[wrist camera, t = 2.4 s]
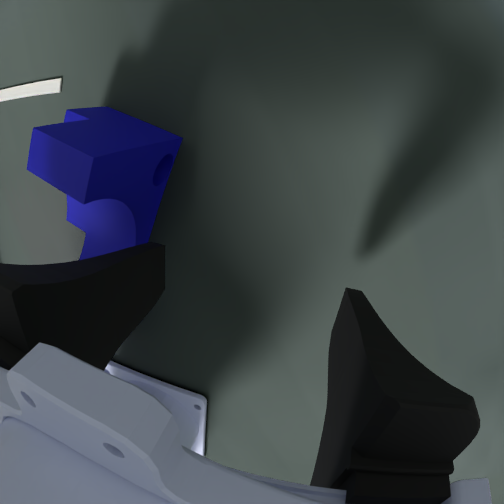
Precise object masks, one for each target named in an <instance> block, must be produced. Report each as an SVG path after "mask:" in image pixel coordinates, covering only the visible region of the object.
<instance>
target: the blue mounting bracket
mask: <svg viewBox="0 0 504 504" xmlns="http://www.w3.org/2000/svg"><path fill="white" fill-rule="evenodd" d="M182 139H183V138H182V137H179V136H177V135H175V134H172V133H170V132H168V131H166V130H163V129H161V128H158V127H156V126H154V125H151V124H149V123H147V122H144V121H142V120H139V119H137V118H134V117H132V116H129V115H127V114H124V113H122V112H119V111H117V110H114V109H112V108H109V107H92V108H79V109H68V110H67V111H66V115H65V119H64V123H59V124H52V125H46V126H40V127H34V128H33V132H32V138H31V144H30V150H29V157H28V164H27V170H29V171H30V172H32V173H33V174H35V175H36V176H38V177H40V178H41V179H43V180H44V181H46V182H48V183H49V184H51V185H52V186H54V187H56V188H57V189H59V190H61V191H62V192H64V193H65V194H67V221H69V222H70V223H72V224H73V225H75V226H77V227H78V228H80V229H81V230H83V231H84V232H86V237H85V241H84V246H83V249H82V253H81V256H80V259H79V260H83V259H88V258H92V257H96V256H99V255H103V254H107V253H111V252H115V251H118V250H122V249H125V248H129V247H132V246H136V245H140V244H144V243H148V241H149V238H150V234H151V231H152V228H153V224H154V221H155V218H156V215H157V211H158V208H159V205H160V202H161V199H162V196H163V193H164V190H165V187H166V184H167V181H168V178H169V175H170V172H171V169H172V166H173V164H174V161H175V158H176V155H177V153H178V150H179V147H180V144H181V142H182Z"/></svg>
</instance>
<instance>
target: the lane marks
mask: <svg viewBox="0 0 504 504" xmlns="http://www.w3.org/2000/svg"><path fill="white" fill-rule="evenodd" d="M61 84H62V78H58V79H52V80H46V81H41V82H35V83H30V84H25V85H20V86H16V87H11V88H7V89H3V90H0V101H5V100H11V99H16V98H22V97H29V96H35V95H42V94H50V93H58V92H61Z"/></svg>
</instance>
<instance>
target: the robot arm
mask: <svg viewBox="0 0 504 504" xmlns="http://www.w3.org/2000/svg"><path fill="white" fill-rule="evenodd" d="M164 289H165V245H161V244H157V243H153V242H151V243H144V244H140V245H136V246H132V247H129V248H125V249H122V250H118V251H115V252H111V253H107V254H103V255H99V256H96V257H92V258H88V259H83V260H78V261H72V262H65V263H56V264H45V265H14V264H2V263H0V504H492V500H491V493H490V487H489V481H488V478H478V479H466V480H459V481H456V482H453V483H451V484H450V481H449V475H451V474H452V473H453V471H454V465H453V460H454V459H455V458H456V457H457V456H458V455H459V454H460V453H461V452H462V451H463V450H464V449H465V448H466V447H467V446H468V445H469V444H470V443H471V442H472V440H473V439H474V438H475V436H476V435H477V433H478V431H479V428H480V418H479V415H478V411H477V408H476V405H475V401H474V398H473V397H472V396H470V395H468V394H467V393H465V392H463V391H461V390H459V389H458V388H456V387H454V386H452V385H450V384H449V383H447V382H446V381H444V380H443V379H441V378H440V377H438V376H437V375H436V374H434V373H433V372H432V371H430V370H429V369H428V368H426V367H425V366H424V365H423V364H422V363H420V362H419V361H418V360H417V359H416V358H415V357H414V356H412V355H411V354H410V353H409V352H408V351H407V350H406V349H405V348H404V346H403V345H402V344H401V343H400V342H399V341H398V340H397V339H396V338H395V337H394V335H393V334H392V333H391V332H390V330H389V329H388V328H387V327H386V325H385V324H384V323H383V321H382V320H381V319H380V317H379V316H378V314H377V313H376V311H375V310H374V309H373V307H372V306H371V304H370V303H369V301H368V300H367V298H366V297H365V295H364V294H363V292H362V291H359V290H355V289H350V288H346V289H345V292H344V295H343V298H342V302H341V305H340V308H339V311H338V314H337V317H336V320H335V323H334V326H333V329H332V333H331V340H330V347H329V358H328V396H327V409H326V415H325V421H324V427H323V432H322V437H321V442H320V447H319V451H318V456H317V460H316V464H315V468H314V472H313V476H312V480H311V484H310V485H304V484H298V483H293V482H288V481H283V480H278V479H273V478H269V477H264V476H260V475H256V474H252V473H248V472H244V471H240V470H237V469H233V468H229V467H226V466H223V465H221V464H219V463H217V462H215V461H212V460H210V459H208V458H206V457H204V452H205V429H206V409H207V400H206V398H205V397H204V396H202V395H200V394H197V393H194V392H191V391H188V390H185V389H182V388H179V387H176V386H173V385H171V384H168V383H165V382H162V381H160V380H157V379H154V378H152V377H149V376H147V375H144V374H142V373H139V372H137V371H134V370H132V369H129V368H127V367H124V366H122V365H120V364H117V363H115V362H113V361H110V360H111V359H112V357H113V356H114V354H115V352H116V351H117V349H118V348H119V347H120V345H121V344H122V343H123V341H124V340H125V339H126V338H127V337H128V336H129V334H130V333H131V332H132V331H133V330H134V329H135V327H136V326H137V325H138V324H139V323H140V322H141V321H142V320H143V318H144V317H145V316H146V315H147V314H148V313H149V311H150V310H151V309H152V308H153V307H154V305H155V304H156V302H157V301H158V299H159V297H160V296H161V294H162V293H163V291H164Z"/></svg>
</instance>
